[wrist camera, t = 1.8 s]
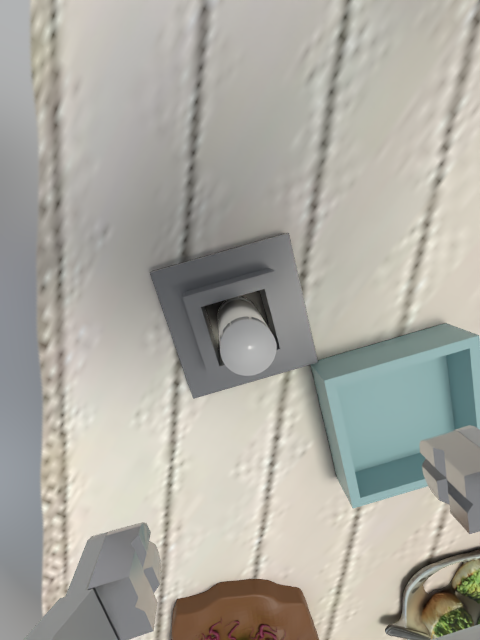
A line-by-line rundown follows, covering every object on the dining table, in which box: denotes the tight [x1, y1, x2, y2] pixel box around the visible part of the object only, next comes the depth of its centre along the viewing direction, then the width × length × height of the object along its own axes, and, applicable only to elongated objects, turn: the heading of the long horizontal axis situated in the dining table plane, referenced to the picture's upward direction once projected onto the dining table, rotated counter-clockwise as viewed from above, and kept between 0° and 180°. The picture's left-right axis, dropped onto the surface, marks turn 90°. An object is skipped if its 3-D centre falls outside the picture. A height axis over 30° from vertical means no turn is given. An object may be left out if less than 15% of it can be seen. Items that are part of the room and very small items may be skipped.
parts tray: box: [311, 323, 480, 508], centre depth 35 cm, size 15×15×4 cm
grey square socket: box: [150, 233, 318, 399], centre depth 31 cm, size 13×13×4 cm
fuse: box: [217, 297, 277, 376], centre depth 28 cm, size 4×4×10 cm
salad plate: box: [385, 549, 480, 640], centre depth 44 cm, size 19×18×5 cm
